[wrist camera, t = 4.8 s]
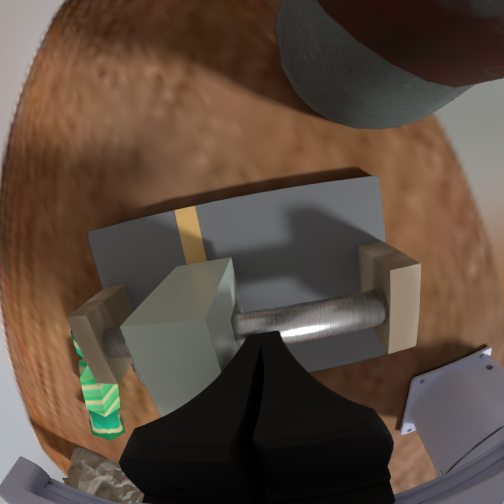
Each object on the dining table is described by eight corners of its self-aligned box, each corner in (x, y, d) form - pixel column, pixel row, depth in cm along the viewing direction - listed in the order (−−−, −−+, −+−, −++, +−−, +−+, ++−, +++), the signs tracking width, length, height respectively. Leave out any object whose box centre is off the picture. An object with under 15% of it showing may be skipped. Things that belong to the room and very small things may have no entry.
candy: (71, 311, 18) (70, 343, 14) (112, 311, 20) (119, 343, 16) (87, 411, 21) (93, 443, 18) (119, 410, 23) (128, 440, 19)
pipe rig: (372, 175, 15) (418, 175, 10) (380, 347, 18) (410, 396, 13) (95, 229, 17) (41, 249, 11) (146, 377, 20) (120, 425, 14)
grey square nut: (231, 256, 15) (205, 318, 8) (253, 356, 16) (246, 445, 9) (177, 266, 15) (119, 326, 8) (205, 361, 16) (178, 445, 10)
